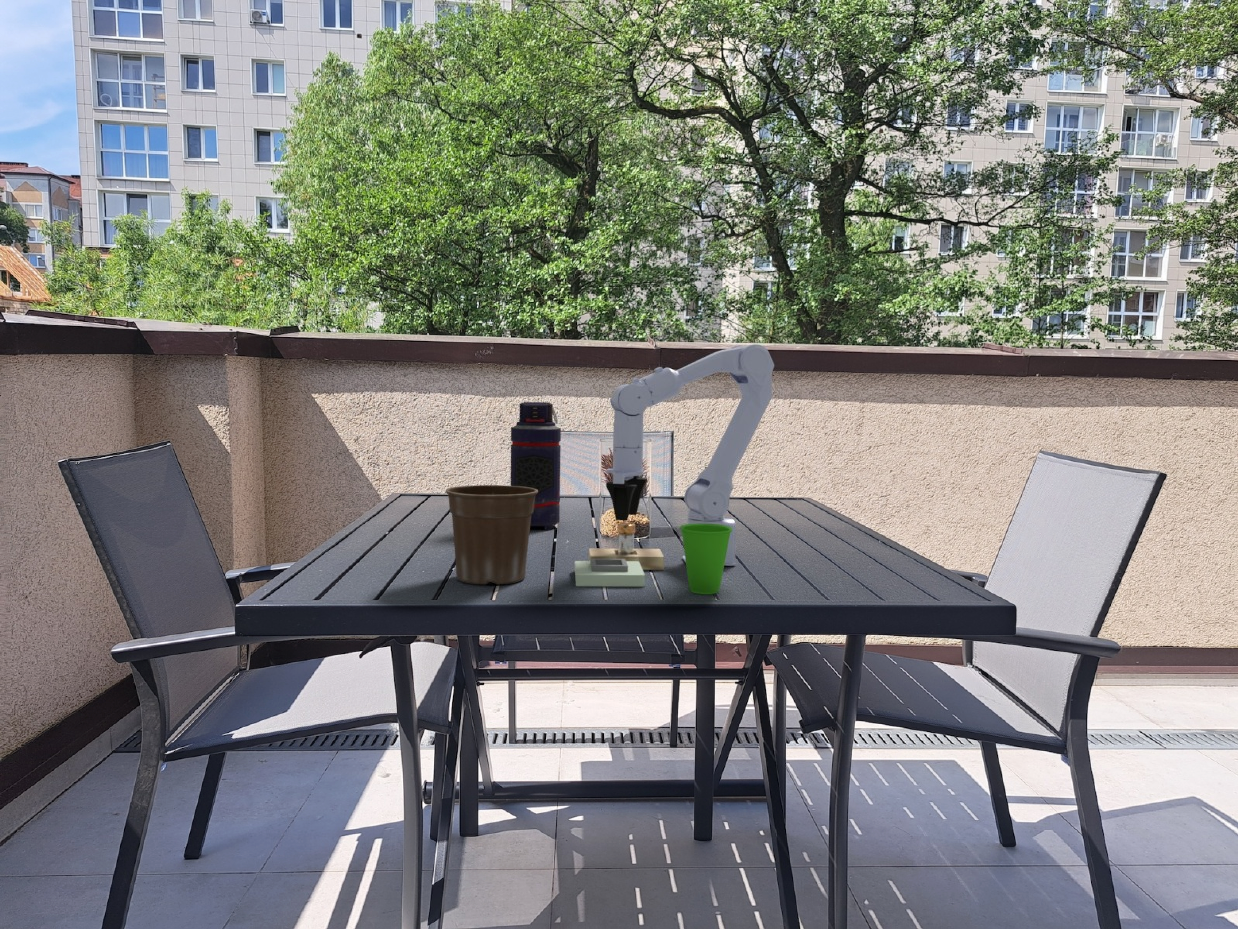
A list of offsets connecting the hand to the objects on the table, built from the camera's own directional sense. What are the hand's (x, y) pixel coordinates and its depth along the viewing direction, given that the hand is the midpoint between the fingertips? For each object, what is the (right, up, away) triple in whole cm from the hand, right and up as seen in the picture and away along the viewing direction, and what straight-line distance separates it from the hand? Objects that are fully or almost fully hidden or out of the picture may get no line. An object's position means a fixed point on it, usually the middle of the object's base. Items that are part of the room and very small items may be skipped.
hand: (626, 517), depth 175 cm
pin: (0, -9, +1) cm, 9 cm away
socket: (-3, -10, -11) cm, 16 cm away
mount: (0, -9, +1) cm, 9 cm away
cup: (+13, -12, -19) cm, 26 cm away
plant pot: (-24, -10, -13) cm, 29 cm away
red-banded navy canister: (-22, -5, +45) cm, 50 cm away
